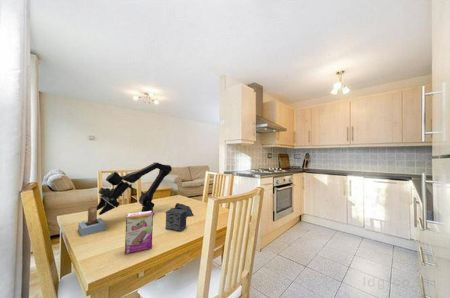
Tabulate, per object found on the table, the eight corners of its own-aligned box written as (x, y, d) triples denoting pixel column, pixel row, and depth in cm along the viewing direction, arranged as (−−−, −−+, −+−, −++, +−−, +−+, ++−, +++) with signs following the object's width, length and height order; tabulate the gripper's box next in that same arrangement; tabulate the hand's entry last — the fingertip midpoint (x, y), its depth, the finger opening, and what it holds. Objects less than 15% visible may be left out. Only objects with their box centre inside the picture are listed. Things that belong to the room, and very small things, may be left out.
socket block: (100, 224, 105) (100, 218, 105) (105, 230, 98) (105, 222, 98) (78, 230, 98) (78, 223, 98) (81, 236, 91) (82, 228, 91)
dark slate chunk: (172, 219, 116) (172, 212, 116) (170, 209, 137) (170, 203, 137) (195, 216, 122) (195, 210, 122) (189, 207, 142) (189, 201, 142)
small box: (186, 227, 103) (187, 209, 104) (180, 232, 97) (181, 213, 97) (171, 224, 107) (172, 207, 107) (165, 229, 101) (165, 211, 101)
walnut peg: (97, 228, 100) (98, 206, 101) (94, 231, 97) (94, 208, 97) (89, 228, 100) (90, 207, 100) (85, 232, 96) (86, 209, 96)
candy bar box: (124, 255, 75) (125, 217, 75) (125, 249, 79) (126, 213, 80) (152, 248, 80) (153, 213, 81) (151, 243, 85) (152, 210, 85)
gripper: (104, 180, 110) (81, 201, 102) (113, 184, 98) (88, 208, 89) (118, 190, 116) (97, 211, 108) (128, 195, 103) (106, 219, 95)
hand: (97, 212), depth 100 cm, fingers open, 9 cm apart
